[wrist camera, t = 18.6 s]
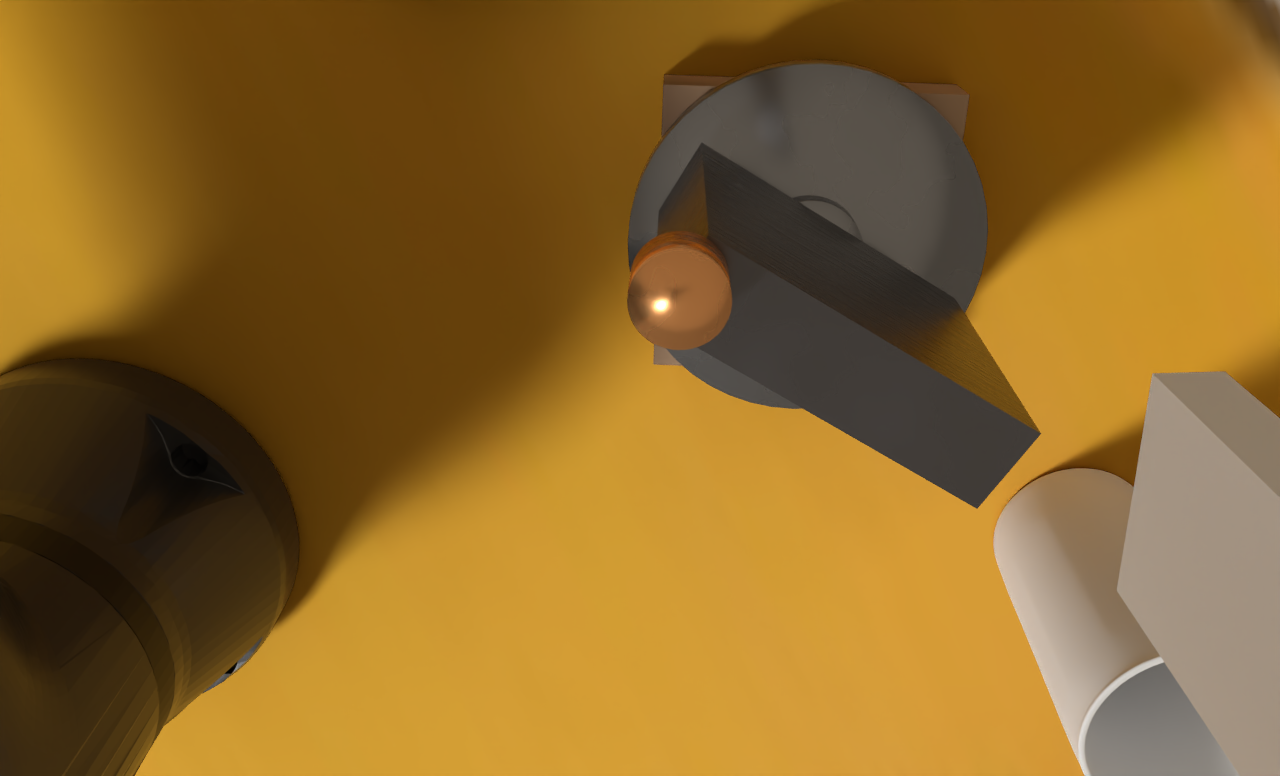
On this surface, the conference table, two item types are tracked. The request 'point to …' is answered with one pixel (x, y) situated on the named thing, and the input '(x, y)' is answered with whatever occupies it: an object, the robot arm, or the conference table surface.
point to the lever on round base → (829, 265)
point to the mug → (1096, 631)
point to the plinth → (691, 88)
